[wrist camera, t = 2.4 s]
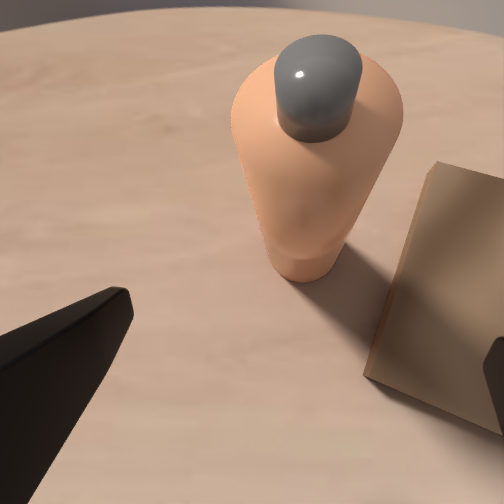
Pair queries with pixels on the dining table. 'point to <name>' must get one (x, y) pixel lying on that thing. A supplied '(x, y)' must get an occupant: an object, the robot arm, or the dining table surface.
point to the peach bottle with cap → (313, 147)
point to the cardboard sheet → (446, 297)
